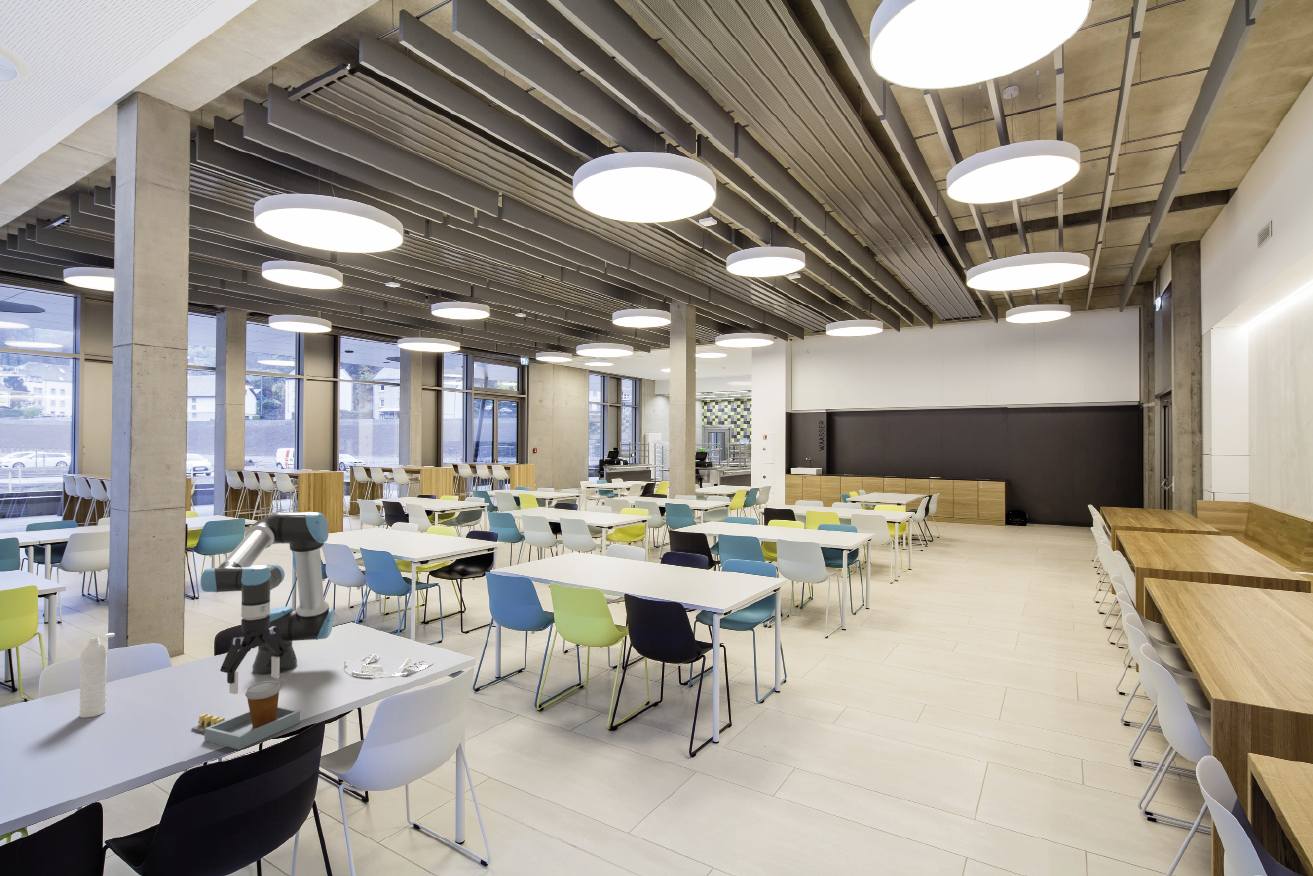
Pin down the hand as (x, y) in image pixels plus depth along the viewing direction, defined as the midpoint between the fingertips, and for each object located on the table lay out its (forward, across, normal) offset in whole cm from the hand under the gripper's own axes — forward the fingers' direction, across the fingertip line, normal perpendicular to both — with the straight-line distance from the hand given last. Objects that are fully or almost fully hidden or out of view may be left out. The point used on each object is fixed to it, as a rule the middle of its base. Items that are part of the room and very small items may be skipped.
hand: (255, 685), depth 198 cm
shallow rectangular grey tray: (+14, -1, 0) cm, 14 cm away
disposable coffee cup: (+14, +3, 0) cm, 14 cm away
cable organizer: (+16, +58, +6) cm, 61 cm away
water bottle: (+15, -11, +60) cm, 62 cm away
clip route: (+14, -5, +13) cm, 19 cm away
